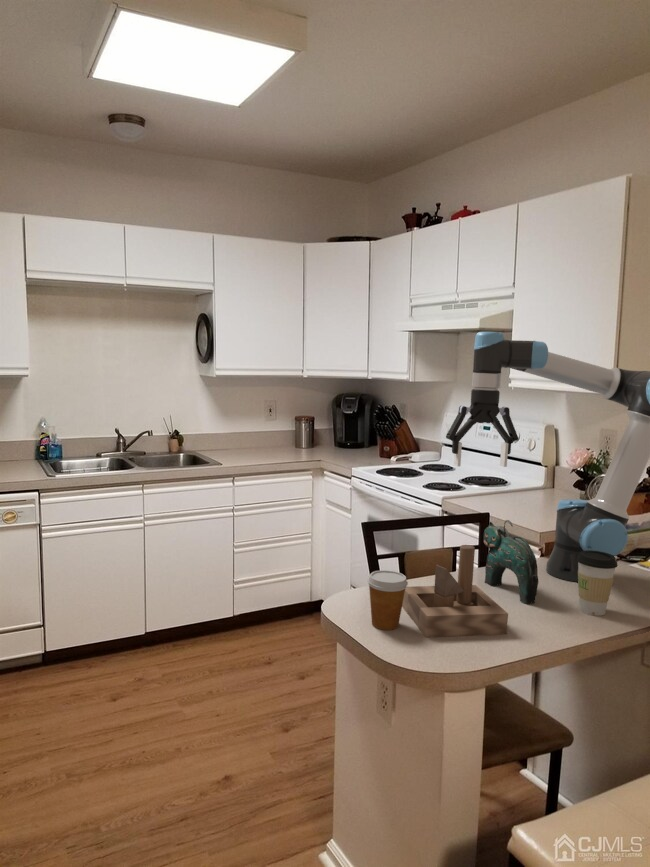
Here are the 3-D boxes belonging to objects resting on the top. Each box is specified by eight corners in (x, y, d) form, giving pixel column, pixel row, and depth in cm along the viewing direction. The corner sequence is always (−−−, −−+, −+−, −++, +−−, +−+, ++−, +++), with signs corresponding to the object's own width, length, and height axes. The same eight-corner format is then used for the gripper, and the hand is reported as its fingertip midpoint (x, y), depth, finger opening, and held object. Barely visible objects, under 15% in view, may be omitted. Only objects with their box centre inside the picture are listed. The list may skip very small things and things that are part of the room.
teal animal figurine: (478, 581, 192) (482, 513, 189) (496, 579, 194) (501, 512, 192) (523, 606, 173) (529, 532, 171) (542, 603, 176) (549, 530, 174)
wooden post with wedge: (431, 620, 161) (436, 549, 159) (462, 612, 168) (467, 543, 165) (442, 626, 158) (447, 553, 156) (473, 617, 165) (478, 547, 162)
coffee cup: (582, 601, 179) (587, 547, 177) (618, 612, 172) (624, 556, 170) (565, 609, 172) (570, 554, 170) (603, 621, 165) (608, 563, 163)
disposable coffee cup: (358, 619, 160) (360, 571, 159) (392, 614, 164) (395, 568, 162) (376, 635, 151) (379, 585, 150) (412, 630, 155) (415, 581, 154)
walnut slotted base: (474, 603, 174) (475, 584, 173) (506, 633, 155) (508, 613, 155) (401, 605, 170) (402, 586, 170) (425, 636, 152) (426, 616, 151)
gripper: (521, 389, 186) (515, 463, 189) (437, 386, 181) (432, 463, 184) (534, 391, 179) (528, 468, 181) (447, 388, 174) (442, 467, 176)
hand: (480, 465), depth 183 cm, fingers open, 13 cm apart
